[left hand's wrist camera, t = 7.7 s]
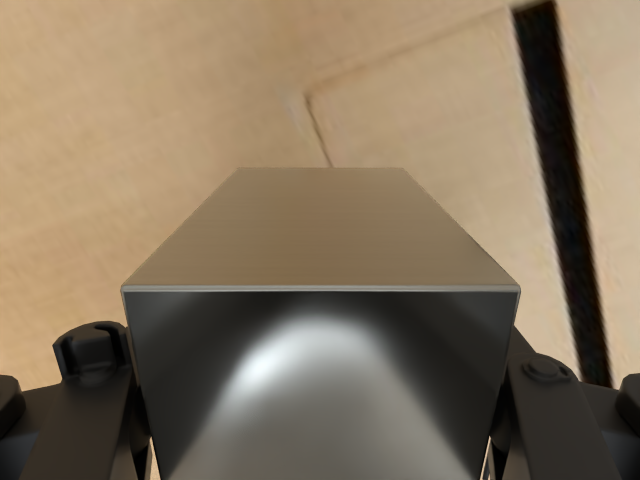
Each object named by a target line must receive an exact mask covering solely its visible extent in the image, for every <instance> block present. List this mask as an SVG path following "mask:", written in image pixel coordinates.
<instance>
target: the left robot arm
mask: <svg viewBox="0 0 640 480" xmlns="http://www.w3.org/2000/svg"><path fill="white" fill-rule="evenodd" d="M52 346H53V349H54V353H55V356H56V359H57V362H58V366H59V369H60V372H61V375H62V381H61V383H59V384H56V385H51V386H47V387H42V388H37V389H33V390H28V391H23V392H22V391H21V388H20V385H19V383H18V380H16V379H15V378H14V377H12V376H7V375H0V480H150V474H151V464H152V450H151V445H150V438H151V432H150V427H149V423H148V418H147V413H146V409H145V404H144V399H143V394H142V390H141V385H140V380H139V376H138V371H137V366H136V362H135V357H134V352H133V348H132V343H131V338H130V333H129V329H128V327H126V328H125V327H124V326H123V325H121V324H120V323H117V322H112V321H98V322H93V323H89V324H84V325H82V326H79V327H77V328H74V329H72V330H70V331H68V332H67V333H65V334H64V335H62V336H60V337H59V338H58V339H57V340H56V342H55V343H54V344H53V345H52ZM490 437H491V440H490V445H489V449H488V454H487V458H486V463H485V467H484V472H483V480H488V477H489V473H490V480H640V373H637V374H629V375H628V376H626V377H625V378H624V379H623V381H622V384H621V386H620V389H619V390H616V389H611V388H606V387H601V386H597V385H592V384H587V383H584V382H580V381H579V380H578V378H577V377H576V375H575V374H574V373H573V371H572V370H571V369H570V368H568V367H567V366H566V365H564V364H563V363H562V362H560V361H558V360H556V359H554V358H552V357H550V356H546V355H543V354H539V353H536V352H535V351H534V350H533V348H532V347H531V346H530V345H529V343H528V342H527V341H526V340H525V338H524V337H523V336H522V335H521V333H520V332H519V331H518V330H517V328H516V327H515V326H513V331H512V335H511V340H510V344H509V349H508V353H507V358H506V362H505V367H504V372H503V376H502V381H501V385H500V390H499V394H498V399H497V404H496V408H495V413H494V417H493V422H492V426H491V431H490Z"/></svg>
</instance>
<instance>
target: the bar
mask: <svg viewBox="0 0 640 480" xmlns="http://www.w3.org/2000/svg"><path fill="white" fill-rule="evenodd" d="M520 294H521V288H520V285H519V284H518V283H517V282H516V281H515V280H514V279H513V278H512V277H511V276H510V275H509V274H508V273H507V272H506V271H505V270H504V269H503V268H502V267H501V266H500V265H499V264H498V263H497V262H496V261H495V260H494V259H493V258H492V257H491V256H490V255H489V254H488V253H487V252H486V251H485V250H484V249H483V248H482V247H481V246H480V245H479V244H478V243H477V242H476V241H475V240H474V239H473V238H472V237H471V236H470V235H469V234H468V233H467V232H466V231H465V230H464V229H463V228H462V227H461V226H460V225H459V224H458V223H457V222H456V221H455V220H454V219H453V218H452V217H451V216H450V215H449V214H448V213H447V212H446V211H445V210H444V209H443V208H442V207H441V206H440V205H439V204H438V203H437V202H436V201H435V200H434V199H433V198H432V197H431V196H430V195H429V194H428V193H427V192H426V191H425V190H424V189H423V188H422V187H421V186H420V185H419V184H418V183H417V182H416V181H415V180H414V179H413V178H412V177H411V176H410V175H409V174H408V173H407V172H406V171H405V170H404V169H403V168H237V169H236V170H235V171H234V172H233V173H232V174H231V175H230V176H229V177H228V178H227V179H226V180H225V181H224V182H223V183H222V184H221V185H220V186H219V187H218V188H217V189H216V190H215V191H214V192H213V193H212V194H211V195H210V196H209V197H208V198H207V199H206V200H205V201H204V202H203V203H202V204H201V205H200V206H199V207H198V208H197V209H196V210H195V211H194V213H193V214H192V215H191V216H190V217H189V218H188V219H187V220H186V221H185V222H184V223H183V224H182V225H181V226H180V227H179V228H178V229H177V230H176V231H175V232H174V233H173V234H172V235H171V236H170V237H169V238H168V239H167V240H166V241H165V242H164V243H163V244H162V245H161V246H160V247H159V248H158V249H157V250H156V251H155V252H154V253H153V254H152V255H151V256H150V257H149V258H148V259H147V260H146V261H145V262H144V263H143V264H142V265H141V266H140V267H139V268H138V269H137V270H136V271H135V272H134V273H133V274H132V275H131V276H130V277H129V278H128V279H127V280H126V281H125V282H124V283H123V284H122V286H121V296H122V301H123V305H124V310H125V315H126V319H127V324H128V329H129V333H130V338H131V343H132V348H133V352H134V357H135V362H136V366H137V371H138V376H139V380H140V385H141V390H142V394H143V399H144V404H145V409H146V413H147V418H148V423H149V427H150V432H151V437H152V441H153V446H154V451H155V455H156V460H157V465H158V470H159V474H160V479H161V480H480V477H481V472H482V467H483V463H484V458H485V454H486V449H487V445H488V440H489V435H490V431H491V426H492V422H493V417H494V413H495V408H496V404H497V399H498V394H499V390H500V385H501V381H502V376H503V372H504V367H505V362H506V358H507V353H508V349H509V344H510V340H511V335H512V331H513V326H514V321H515V317H516V312H517V308H518V303H519V299H520Z"/></svg>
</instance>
